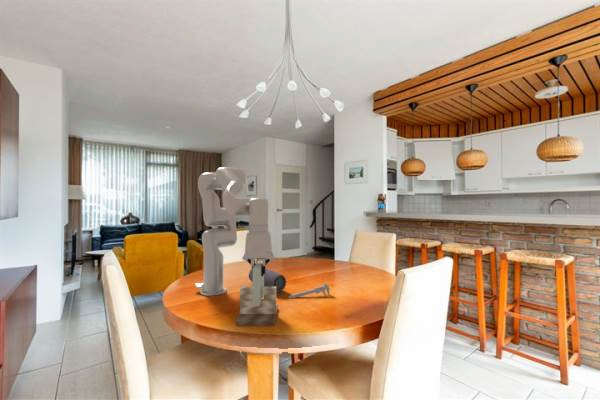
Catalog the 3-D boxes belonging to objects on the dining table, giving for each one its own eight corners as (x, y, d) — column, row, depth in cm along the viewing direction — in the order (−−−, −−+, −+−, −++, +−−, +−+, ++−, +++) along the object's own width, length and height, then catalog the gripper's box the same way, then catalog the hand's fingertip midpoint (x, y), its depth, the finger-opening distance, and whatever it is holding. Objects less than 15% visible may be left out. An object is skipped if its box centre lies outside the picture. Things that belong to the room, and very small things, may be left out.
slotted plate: (259, 306, 104) (259, 268, 104) (252, 306, 104) (252, 268, 104) (264, 294, 118) (264, 260, 118) (258, 294, 118) (258, 260, 118)
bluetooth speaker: (247, 285, 152) (247, 267, 152) (261, 282, 159) (261, 264, 159) (272, 296, 135) (272, 275, 135) (287, 292, 142) (287, 272, 142)
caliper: (328, 295, 138) (328, 282, 138) (329, 296, 137) (329, 283, 137) (287, 298, 133) (287, 284, 133) (288, 298, 132) (288, 285, 132)
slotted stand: (236, 325, 103) (236, 294, 103) (244, 308, 119) (244, 281, 119) (274, 325, 103) (274, 294, 103) (277, 308, 119) (277, 281, 119)
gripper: (236, 230, 107) (236, 278, 107) (278, 230, 107) (278, 278, 107) (240, 228, 115) (240, 273, 115) (279, 228, 115) (279, 273, 115)
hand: (258, 275), depth 111 cm, fingers closed on slotted plate, 2 cm apart
